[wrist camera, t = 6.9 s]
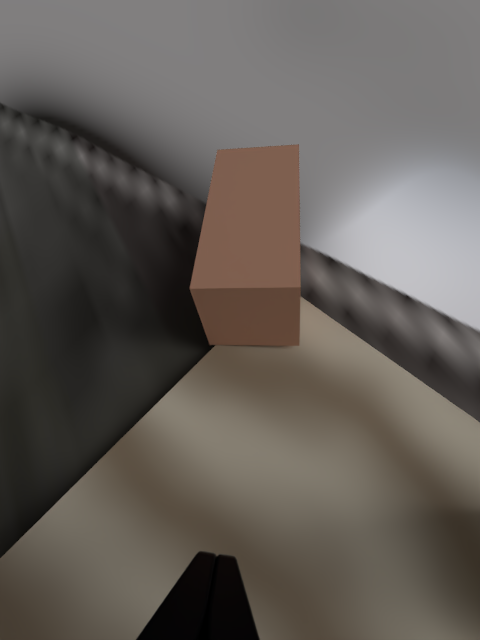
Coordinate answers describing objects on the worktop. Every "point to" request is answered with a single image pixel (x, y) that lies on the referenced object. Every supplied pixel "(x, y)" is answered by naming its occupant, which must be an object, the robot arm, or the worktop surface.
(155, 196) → the worktop surface
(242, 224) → the terracotta block
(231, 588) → the robot arm
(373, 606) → the maple board
